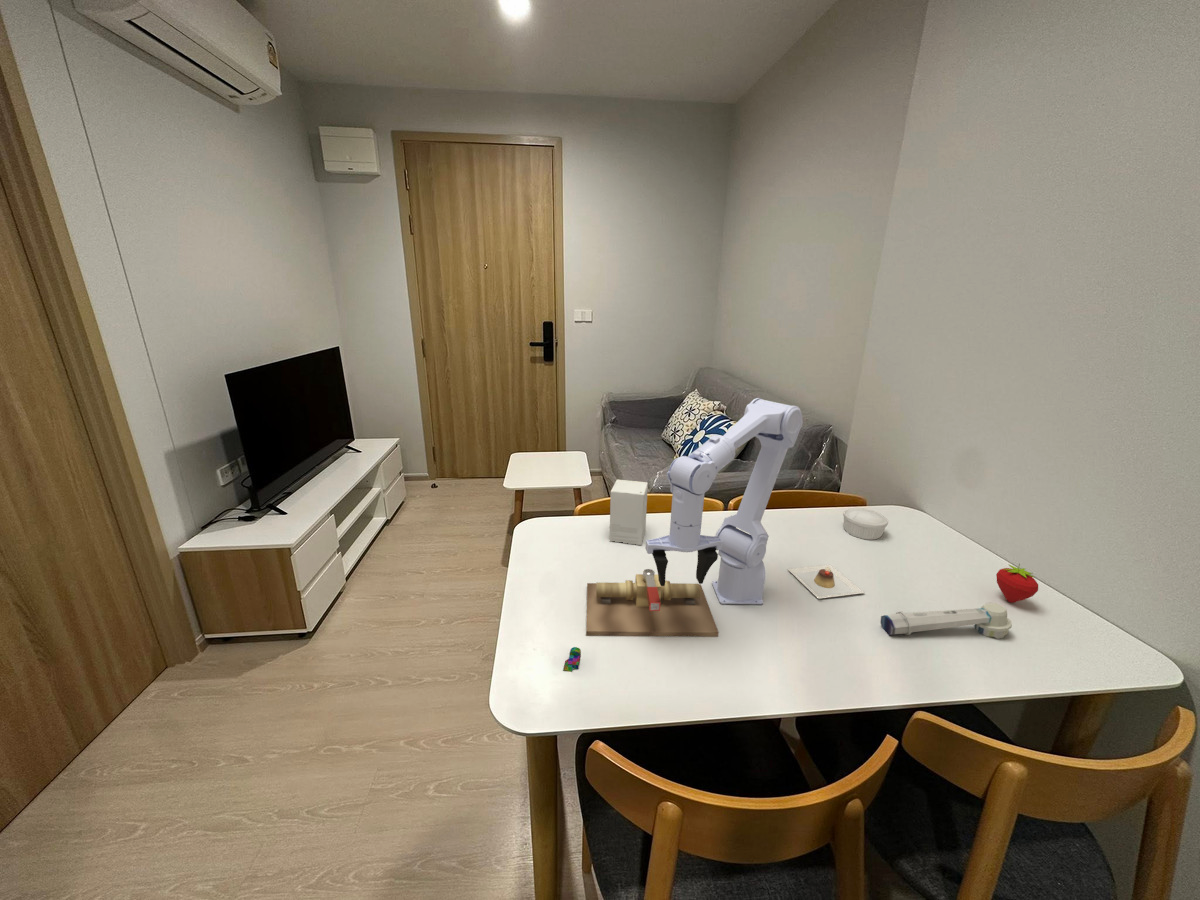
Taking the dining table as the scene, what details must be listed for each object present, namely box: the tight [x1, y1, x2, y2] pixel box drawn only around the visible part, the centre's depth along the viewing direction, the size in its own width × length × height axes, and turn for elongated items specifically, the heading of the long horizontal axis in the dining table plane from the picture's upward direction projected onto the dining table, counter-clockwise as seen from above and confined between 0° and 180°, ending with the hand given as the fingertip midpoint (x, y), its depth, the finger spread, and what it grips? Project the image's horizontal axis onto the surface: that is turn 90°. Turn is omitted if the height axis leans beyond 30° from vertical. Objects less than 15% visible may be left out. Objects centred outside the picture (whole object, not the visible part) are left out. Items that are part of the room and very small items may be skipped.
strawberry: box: [996, 563, 1039, 604], centre depth 104 cm, size 6×8×10 cm
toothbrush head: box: [880, 602, 1013, 640], centre depth 95 cm, size 5×7×25 cm
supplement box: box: [608, 479, 649, 546], centre depth 128 cm, size 9×9×15 cm
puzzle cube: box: [562, 646, 582, 673], centre depth 85 cm, size 4×3×2 cm, turn 174°
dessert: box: [787, 564, 865, 599], centre depth 111 cm, size 12×12×5 cm
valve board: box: [585, 573, 720, 638], centre depth 99 cm, size 26×16×6 cm, turn 91°
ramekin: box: [842, 507, 889, 541], centre depth 135 cm, size 11×11×5 cm
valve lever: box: [642, 568, 660, 611], centre depth 95 cm, size 12×2×2 cm, turn 1°
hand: (680, 582), depth 92 cm, fingers open, 7 cm apart
